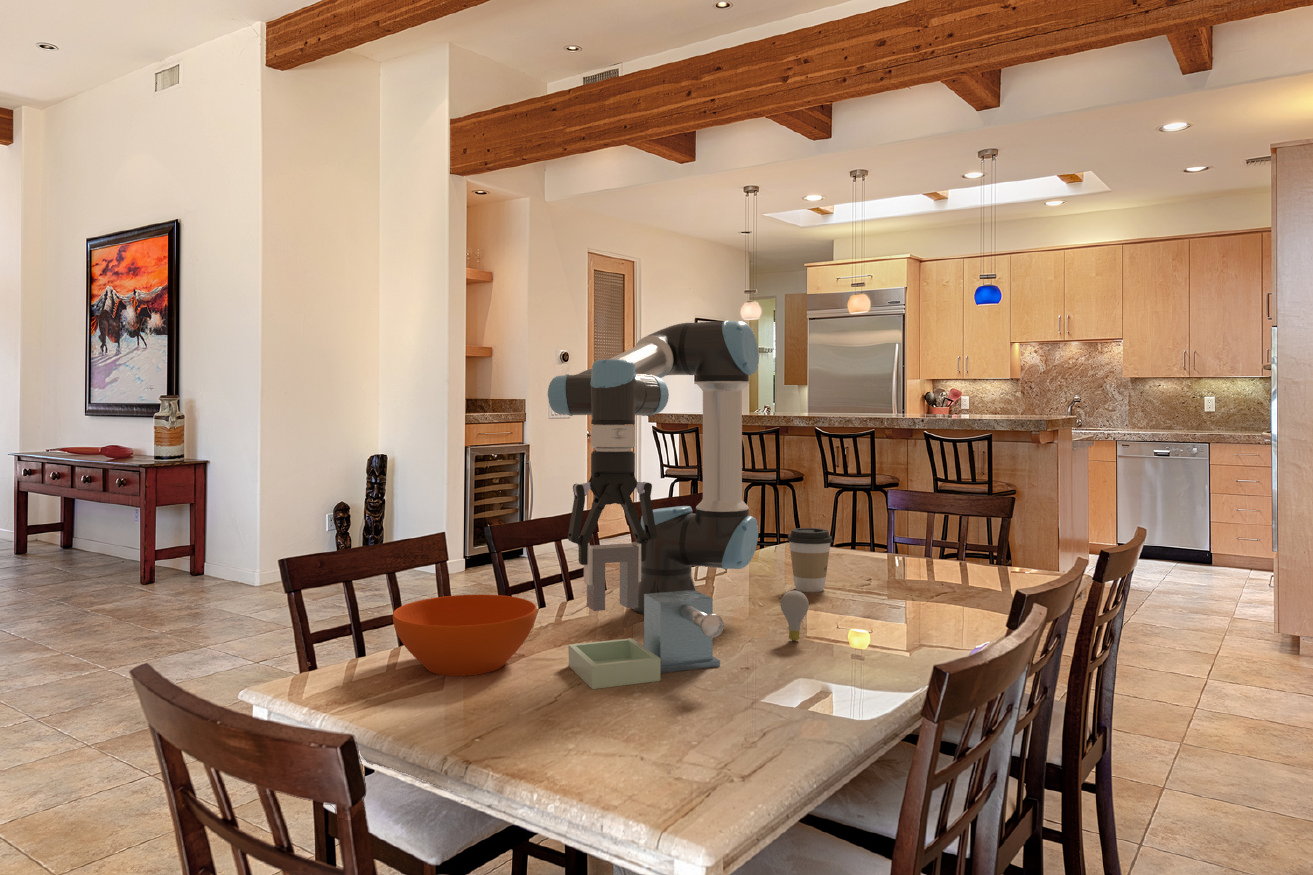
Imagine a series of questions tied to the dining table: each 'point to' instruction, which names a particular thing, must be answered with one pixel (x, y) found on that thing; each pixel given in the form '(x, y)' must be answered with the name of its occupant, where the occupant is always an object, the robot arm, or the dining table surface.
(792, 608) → the light bulb
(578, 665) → the tray
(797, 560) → the coffee cup
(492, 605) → the bowl
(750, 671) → the dining table surface
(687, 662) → the blue knob box
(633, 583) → the grey u-shaped block
